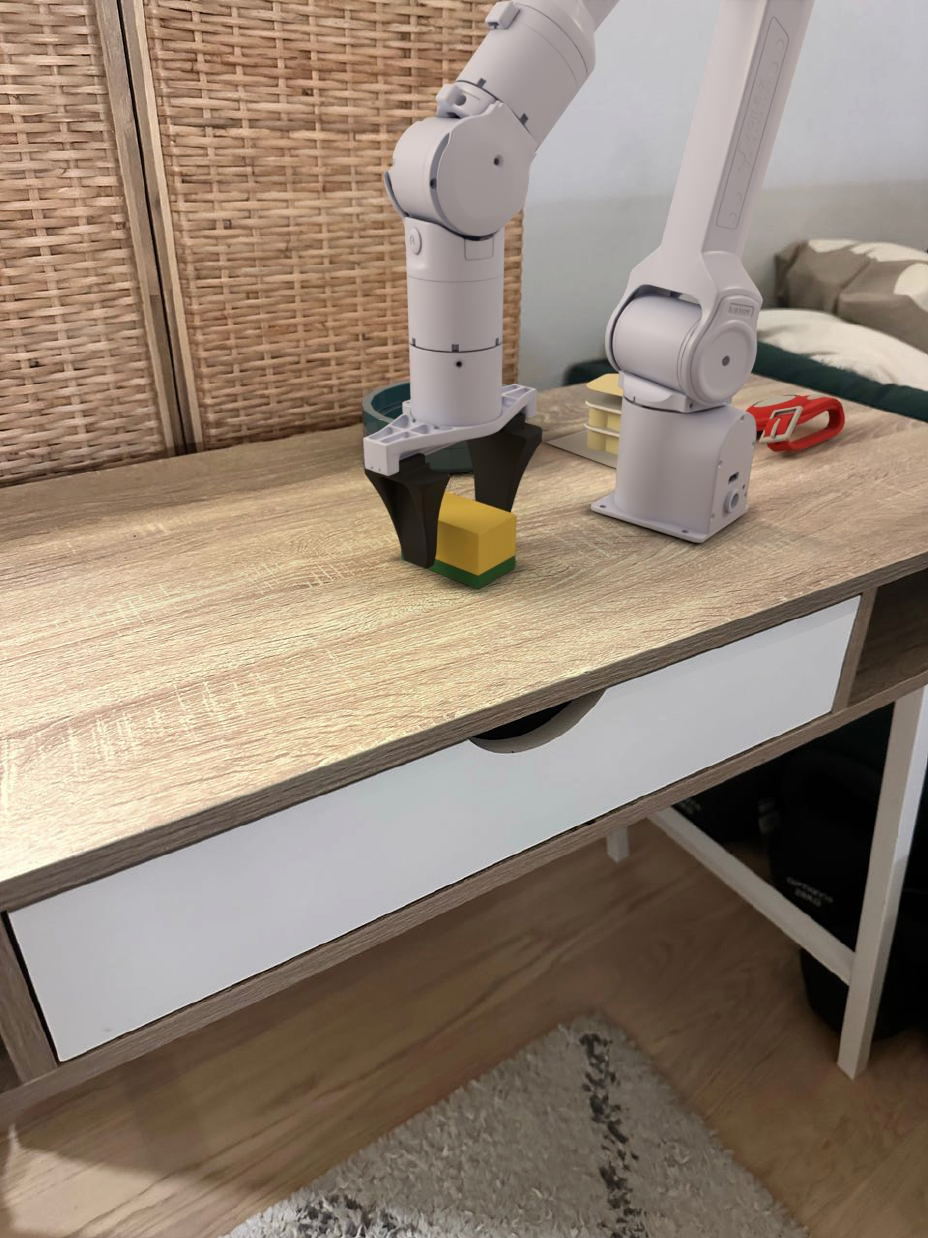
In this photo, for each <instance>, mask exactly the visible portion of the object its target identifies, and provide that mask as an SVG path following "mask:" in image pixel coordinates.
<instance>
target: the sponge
mask: <svg viewBox="0 0 928 1238" xmlns="http://www.w3.org/2000/svg"><path fill="white" fill-rule="evenodd" d="M517 517H518V516H517V514H516V513H513V512H511V513H510V512H507V511H504V510H501V509H498V508H495V507H492V506H489V505H486V504H483V503H480V502H477V501H475V499H474V500H473V499H470V498H467V497H465V496H462V495H458V494H456V493H452V492H449V491H446V490H445V493H444V496H443V499H442V503H441V507H440V512H439V518H438V530H437V552H436V558H435V562H434V566H432V567H430V568H428V569H427V570H429V571H431V572H434V573H437V574H439V575H442V576H444V577H446V578H448V579H452V580H454V581H457V582H459V583H462V584H465V585H466V586H469V587H471V588H473V589H477V590H479V589H481V588H483V587H485V586H486V585H488V584H490V583H491V582H494V581H495V580H497V579H498V578H500V577H502V576H504V575H505V574H507V573H509V572H511V571H513V570H514V569H515V568H516V553H517V552H516V551H517V548H516V547H517V546H516V545H517ZM400 556H401V557H400V558H401V560H404V561H405V559H404V556H403V552H402V549H401V548H400Z"/></svg>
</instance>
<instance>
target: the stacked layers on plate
mask: <svg viewBox="0 0 928 1238" xmlns="http://www.w3.org/2000/svg"><path fill="white" fill-rule="evenodd" d="M618 379H619V373H605V374H603V375H601V376H599V377H598V378H594V379H593V380H591V381H590V382H587V383H586V387H587V388H588V389H591V390H594V391H597V392H595V393H593V394H591V395H589V396H587V397H586V398H585V401H584V402H585V405H586V406H587V407H589V409H588V418H587V419H585V420H584V421H583V426H584V428H586V429H584V430H580V431H578V432H574V433H571V434H568V435H564V436H561V437H558V438H555V439H552V440H548V441H546V442H545V443H546V444H549V445H551V446H554V447H556V448H559V449H562V450H565V451H568V452H571V453H573V454H575V455H579V456H581V457H584V458H586V459H589V460H592V461H595V462H597V463H600V464H603V465H605V466H608V467H610V468H613V469H616V470H617V458H618V446H619V434H620V422H621V410H622V398H623V389H622V388H620V387H618Z"/></svg>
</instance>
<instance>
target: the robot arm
mask: <svg viewBox="0 0 928 1238" xmlns="http://www.w3.org/2000/svg"><path fill="white" fill-rule="evenodd" d="M620 1H621V0H504V1H497V2H496V3H495V4H494V6H493V7H492V8H491V9H490V11H489V13H488V14H487V16H486V17H485V20H484V23H485V24H486V26H487V27H488V29H489V30H490V31H489V32H488V33H487V34H486V36H485V37H484V39H483V40H482V42H481V43H480V45H479V46H478V47H477V49H476V51H475V52H474V54H473V55H472V56H471V57H470V59H469V61H468V62H467V63H466V64H465V66H464V68H463V69H462V71H461V72H460V73H459V74H458V76H457V78H456V79H455V81H454V82H453V83H444V84H443V85H442V87H441V88H440V90H439V91H438V93H436V96H435V98H434V99H435V102H436V103H437V107H436V112H435V113H436V116H427V117H424V118H423V120H416V121H415V122H414V123H412V124H411V125H410V126H409V127H408V128H407V129H405V131H403V133H402V134H401V136H400V138H399V139H398V141H397V143H396V145H395V147H394V150H393V153H392V157H391V159H393V160H392V166H390V169H388V170H386V171H384V173H383V184H384V188H385V191H386V194H387V195H386V196H387V197H388V200H389V201H390V204H391V206H392V207H393V208H394V210H395V211H396V213H397V214H398V215H399V217H400V218H401V220H402V224H403V228H404V245H405V266H406V268H405V269H406V270H405V271H406V291H407V292H406V294H407V295H406V296H407V298H406V299H407V324H408V326H407V327H408V330H407V331H408V353H409V354H408V356H409V357H408V359H409V380H410V394H411V399H410V400H408V401H405V402H403V403H402V406H403V414H402V415H400V416H399V417H398V418H396V419H395V420H394V421H392V422H391V423H390V424H388V425H387V426H386V427H384V428H383V429H381V430H380V431H378V432H376V433H374V434H372V435H370V436H367V437H365V438H364V437H363V439H362V441H363V455H364V456H363V473H364V475H365V476H366V478H367V479H368V481H369V482H370V483H371V484H372V486H373V488H374V489H375V490H376V492H377V494H378V495H379V498H380V500H381V501H382V503H383V504H384V506H385V508H386V510H387V512H388V515H389V517H390V520H391V523H392V525H393V527H394V530H395V533H396V537H397V539H398V543H399V546H400V550H401V549H402V552H403V556H404V559H405V560H404V559H403V560H404V561H405V562H407V563H409V564H412V565H415V566H417V567H420V568H422V569H425V570H429V569H428V568H430V567H432V566H434V562H435V558H436V552H437V530H438V518H439V512H440V507H441V503H442V499H443V496H444V493H445V491H446V489H447V487H448V485H449V482H450V481H451V476H450V474H449V473H441V472H438V471H435V470H432V469H430V463H425V455H428V454H430V453H433V452H435V451H438V450H440V449H443V448H445V447H448V446H450V445H453V444H455V443H458V442H460V441H464V440H466V441H467V445H468V449H469V452H470V457H471V462H472V467H473V471H472V474H473V483H474V484H473V485H474V501H477V502H480V503H483V504H486V505H489V506H492V507H495V508H498V509H501V510H504V511H507V512H510V513H512V510H513V506H514V503H515V499H516V496H517V492H518V490H519V486H520V484H521V481H522V478H523V476H524V473H525V471H526V469H527V467H528V465H529V463H530V461H531V459H532V457H533V456H534V454H535V452H536V451H537V450H538V448H539V446H540V445H541V443H542V441H543V428H542V427H541V426H539V425H536V424H532V423H529V422H528V423H525V419H528V420H530V419H532V418H535V417H537V404H538V402H537V401H538V389H537V388H534V387H532V386H531V387H530V386H526V385H523V384H518V383H513V384H508V385H509V386H505V387H502V384H503V358H504V357H503V354H504V352H503V351H504V349H503V348H504V341H503V339H504V338H503V337H504V336H503V334H504V289H505V288H504V287H505V286H504V285H505V242H506V241H505V239H506V238H505V236H506V235H505V234H506V233H505V232H506V230H505V229H506V228H505V227H506V226H507V224H508V223H509V222H510V221H511V220H512V219H513V218H514V217H515V216H516V215H517V214H519V213H520V212H521V211H522V210H523V207H524V204H525V202H526V198H527V195H528V190H529V184H530V183H529V182H530V169H531V167H532V166H531V165H532V163H533V161H534V159H535V158H536V156H537V153H536V152H537V151H538V150H539V148H540V147H541V145H542V144H543V143H544V141H545V139H546V138H547V137H548V135H549V134H550V132H552V130H553V128H554V127H555V126H556V124H557V123H558V121H559V120H560V118H561V117H562V116H563V114H564V113H565V111H566V110H567V109H568V107H569V106H570V105H571V103H572V101H573V100H574V99H575V98H576V96H577V94H578V93H579V92H580V90H581V89H582V87H583V86H584V84H585V83H586V81H587V80H588V78H589V77H591V75H592V73H593V72H594V70H595V67H596V62H597V61H596V60H597V53H596V41H595V40H596V39H595V32H596V31H597V30H598V29H599V27H600V26H601V25H602V24H603V22H604V21H605V19H607V17H608V16H609V14H610V13H611V12H612V11H613V9H614V8H615V7H616V6H617V5H618V3H619V2H620ZM815 1H816V0H721V3H720V7H719V12H718V14H717V18H716V23H715V28H714V31H713V35H712V39H711V43H710V48H709V51H708V55H707V58H706V63H705V67H704V70H703V75H702V79H701V82H700V83H701V84H700V87H699V91H698V95H697V99H696V103H695V107H694V112H693V115H692V119H691V123H690V126H689V130H688V135H687V139H686V143H685V147H684V150H683V151H684V152H683V156H682V159H681V163H680V167H679V171H678V175H677V179H676V182H675V187H674V191H673V195H672V199H671V203H670V208H669V211H668V215H667V219H666V223H665V227H664V230H663V234H662V239H661V243H660V245H659V246H658V247H657V248H656V249H655V250H654V251H653V252H651V253H650V254H649V255H648V256H646V257H644V259H642V260H641V261H640V262H639V263H638V264H637V265H636V266H634V267H633V268H632V269H631V271H630V273H629V278H628V280H627V281H628V282H627V284H626V288H625V291H624V293H623V295H622V297H621V299H620V301H619V302H618V304H617V306H616V307H615V309H613V311H612V314H610V315H611V316H610V317H609V320H608V322H607V326H606V330H605V335H604V349H605V355H606V357H607V360H608V362H609V364H610V366H611V367H612V368H613V369H614V370H615V371H616V372H617V373H618V374H619V379H618V387H620V388H622V389H623V398H622V410H621V422H620V434H619V446H618V458H617V469H616V471H615V472H616V473H615V484H614V491H613V492H610V493H609V494H607V495H605V496H603V497H601V498H599V499H597V500H595V501H594V502H592V503H591V504H590V510H591V511H592V512H594V513H598V514H601V515H605V516H608V517H612V518H614V519H617V520H620V521H624V522H627V523H630V524H634V525H637V526H640V527H643V528H647V529H650V530H653V531H656V532H659V533H663V534H665V535H669V536H672V537H675V538H679V539H682V540H685V541H688V542H692V543H694V544H695V543H696V544H701V543H704V542H706V541H707V540H708V539H710V538H711V537H713V536H714V535H716V534H717V533H718V532H720V531H721V530H723V529H724V528H725V527H727V526H729V525H731V523H733V522H735V521H736V520H737V519H738V518H740V517H741V516H743V515H744V514H746V513H748V512H749V509H750V505H749V504H748V503H747V499H748V492H749V485H750V478H751V475H752V467H753V461H754V456H755V448H756V441H757V431H756V422H755V418H754V416H753V415H752V414H750V413H748V412H746V410H743V409H740V408H737V407H735V406H734V405H733V404H732V402H733V397H734V396H736V395H737V394H738V392H739V391H740V390H741V389H742V388H743V387H744V385H745V384H746V382H747V381H748V379H749V377H750V375H751V373H752V370H753V368H754V365H755V362H756V358H757V354H758V353H757V352H758V336H757V329H758V321H759V315H760V311H761V309H762V305H763V302H764V299H763V296H762V295H761V292H760V291H759V288H757V286H756V284H755V282H754V281H753V280H752V278H751V277H750V275H749V273H748V272H747V270H746V269H745V267H744V265H743V261H742V258H743V254H744V250H745V247H746V244H747V241H748V237H749V233H750V229H751V227H752V224H753V219H754V215H755V212H756V208H757V205H758V201H759V198H760V194H761V191H762V187H763V184H764V181H765V178H766V174H767V170H768V167H769V162H770V160H771V156H772V154H773V153H772V152H773V149H774V145H775V142H776V139H777V135H778V131H779V128H780V124H781V121H782V118H783V113H784V111H785V106H786V103H787V100H788V97H789V93H790V90H791V85H792V82H793V78H794V76H795V72H796V68H797V65H798V62H799V57H800V55H801V51H802V47H803V43H804V40H805V37H806V33H807V30H808V26H809V22H810V19H811V15H812V11H813V8H814V4H815ZM683 295H686V296H691V297H693V298H695V300H697V301H698V303H696V302H693V301H689V300H685V299H681V297H682V296H683Z"/></svg>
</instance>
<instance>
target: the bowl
mask: <svg viewBox="0 0 928 1238" xmlns="http://www.w3.org/2000/svg"><path fill="white" fill-rule="evenodd" d="M509 385H510V384H507V383H502V387H505V386H509ZM410 399H411V394H410V379H409V380H404V381H403V380H402V381H398V382H393V383H391V384H387V385H384V386H381V387H378V388H376V389H374V390H372V391H371V392H369V393H367V394H366V395H365V397H364V398H363V400H362V402H361V416H362V417H361V418H362V434H363V435H362V436H363V438H365V437H367V436H370V435H372V434H374V433H376V432H378V431H380V430H381V429H383V428H384V427H386V426H387V425H388V424H390V423H391V422H392V421H394V420H395V419H396V418H398V417H399V416H400V415H402V414H403V406H402V403H403V402H405V401H408V400H410ZM525 423H529V419H525ZM425 463H430V469H432V470H435V471H438V472H441V473H445V474H461V473H470V472H471V473H473V467H472V462H471V457H470V452H469V449H468V445H467V441H466V440H464V441H460V442H458V443H455V444H453V445H450V446H448V447H445V448H443V449H440V450H438V451H435V452H433V453H430V454H428V455H425Z"/></svg>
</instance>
